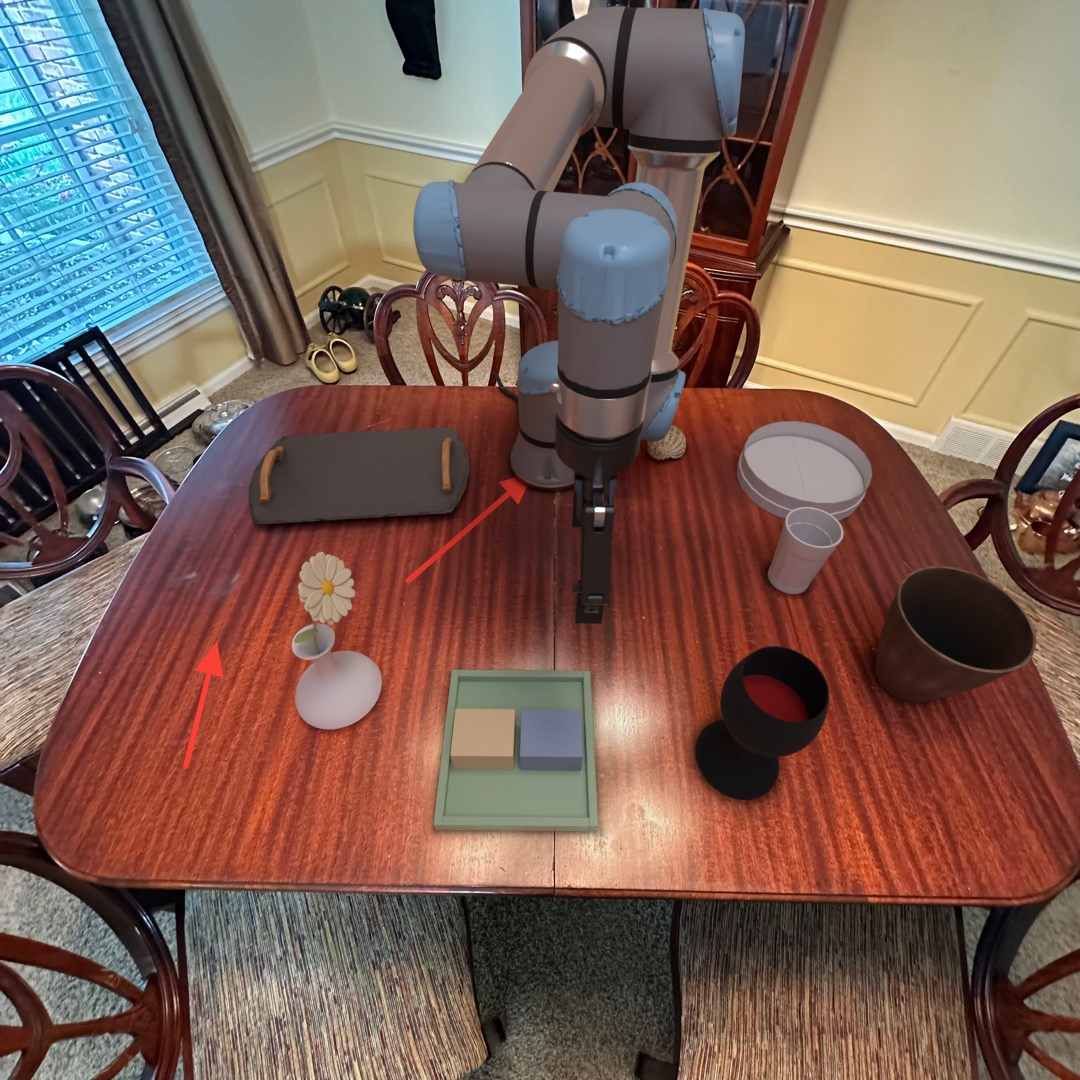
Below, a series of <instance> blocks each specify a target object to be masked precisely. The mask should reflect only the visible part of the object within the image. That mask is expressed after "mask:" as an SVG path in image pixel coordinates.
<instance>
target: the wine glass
mask: <svg viewBox="0 0 1080 1080" xmlns="http://www.w3.org/2000/svg"><path fill="white" fill-rule="evenodd" d="M719 701H720V702H719V704H720V705H719V706H720V714H721V718H722V719H718V720H715V721H713V722H711V723H709V724H708V725H706V727H704V728H703V730H702V731H701V732H700V734H699V736H698V738H697V740H696V743H695V758H696V759H695V760H696V764H697V766H698V769H699V771H700V773H701V775H702V777H703V778H704V779H705V780H706V782H707V783H708V784H709V785H710V786H711V787H712V788H714V789H715V790H716V791H717V792H718V793H720V794H722V795H724V796H726V797H729V798H732V799H735V800H741V801H752V800H756V799H758V798H762V797H763V796H765V795H766V794H767V795H768V793H769V792H770V791H771V790H772V789H773V787H774V786H775V784H776V782H777V780H778V779H779V778H778V777H779V775H780V774H779V773H780V763H779V758H782V757H783V758H784V757H788V756H792V755H793V754H796V753H798V752H800V751H802V750H803V749H805V748H806V747H808V746H809V745H810V744H811V743H812V742H813V741H814V740H815V739H816V738H817V736H818V735H819V733H821V730H822V728H823V726H824V724H825V721H826V720H827V719H826V718H827V715H828V710H829V705H830V689H829V685H828V681H827V679H826V677H825V676H824V673H823V672H822V671H821V669H820V668H819V667H818V665H817V664H816V663H815V662H814V661H812V660H811V659H810V658H809V657H807V656H806V655H804V654H803V653H801V652H799V651H798V650H795V649H792V648H789V647H784V646H780V645H779V646H778V645H769V646H764V647H760V648H758V649H755V650H754V651H752V652H750V653H749V654H747V655H746V656H745V657H743V658H742V659H741V660H740V661H739V662H738V663H737V664H735V666H734V667H733V668H732V669H731V671H729V673H728V675H727V676H726V679H725V681H724V683H723V685H722V688H721V692H720V699H719Z"/></svg>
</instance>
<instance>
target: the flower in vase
mask: <svg viewBox="0 0 1080 1080" xmlns="http://www.w3.org/2000/svg"><path fill="white" fill-rule="evenodd" d="M298 574H299V578H300V580H301V582H299V583H298V586H297V589H298V595H299V600H300V602H301V603H304V606H303V607H304V610H305V611H306V612H307V613H309V616H311V617H310V618H311V619H312V621H313V623H311V624H308V625H306V626H304V627H302V628H300V630H299V631H298V632H296V634H295V635H294V636H293V638H292V641H291V650H292V653H293V654H294V655H295V656H296V657H297V658H299V659H302V660H307V661H311V662H312V663H311V664H310V665H309V666H308V667H307V668H306V669H305V670H304V672H303V673H302V674H301V676H300V678H299V680H298V682H297V685H296V688H295V695H294V703H295V704H294V705H295V707H296V711H297V713H298V715H299V717H300V718H302V720H303V721H304V722H305V723H306V724H307V725H310V726H311V727H314V728H316V729H321V730H339V729H342V728H346V727H349V726H351V725H353V724H355V723H357V722H358V721H360V720H361V719H363V718H364V717H365V716H366V715H368V714H369V713H370V711H371V710H372V709H373V707H374V706H375V705H376V703H377V701H378V699H379V698H380V695H381V692H382V687H383V681H382V680H383V678H382V674H381V670H380V668H379V667H378V665H377V663H376V662H375V661H374V660H372V659H371V658H370V657H369V656H367V655H365V654H363V653H361V652H358V651H354V650H338V651H333V652H332V650H331V649H332V648H333V646H334V644H335V640H336V634H335V631H334V629H333V628H332V627H331V626H332V625H334V623H339V622H340V620H342V618H343V617H347V616H348V614H349V611H351V610H352V609H353V604H352V598H355V597H356V590H355V589H354V588H353V587H354V585H355V579H353V578H351V576H352V570H351V569H350V568H346V567H345V561H344V560H340V558H339V557H338V556H335V555H332V554H329V553H328V554H325V552H324V551H320V552H317V553H316V554H315V556H314V555H311V557H309V561H305V562H304V563H303V564H302V566H301V570H300V571H299V573H298ZM318 621H319V622H318ZM325 623H327V624H325Z"/></svg>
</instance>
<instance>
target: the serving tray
mask: <svg viewBox="0 0 1080 1080" xmlns="http://www.w3.org/2000/svg"><path fill="white" fill-rule="evenodd" d="M470 470H471V463H470V456H469V455H468V452H467V446H466V444H465V442H464V441H463V440H462V438H461V437H460V435H459V434H458V432H457V431H456V430H454V429H453V428H452V427H445V426H444V427H443V426H442V427H425V428H400V429H391V430H381V429H380V430H376V429H375V430H362V431H351V432H350V431H348V432H347V431H346V432H345V431H342V432H338V431H333V432H327V433H313V434H310V433H307V434H305V433H304V434H303V433H302V434H290V435H284V436H282V437H280V438H279V439H278V440H276V441H275V442H274V444H273V445H272V446H271V448H269V449H268V450H267V451H266V452H265V454H264V455H263V456H262V458H261V459H260V461H259V463H258V464H257V466H256V467H255V468H254V471H253V472H252V476H251V480H250V482H249V485H248V506H249V508H250V511H251V518H252V521H253V522H254V524H257V525H262V526H263V527H265V528H266V527H271V526H272V525H274V524H291V523H292V524H293V523H307V522H310V523H313V522H320V521H340V520H356V519H357V520H359V519H374V518H376V519H381V518H394V517H410V516H411V517H412V516H425V515H440V514H441V515H443V514H444V516H446V517H450V516H452V515H453V513H454V512H455V508H457V506H458V505H459V503H460V502H461V500H462V497H463V495H464V494H465V492H466V489H467V487H468V480H469V476H470V472H471V471H470Z"/></svg>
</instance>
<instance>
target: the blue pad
mask: <svg viewBox="0 0 1080 1080" xmlns="http://www.w3.org/2000/svg"><path fill="white" fill-rule="evenodd" d="M582 760H583V745H582V718H581V710H552V709H521V736H520V766H521V770H552V771H581V767H582Z"/></svg>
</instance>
